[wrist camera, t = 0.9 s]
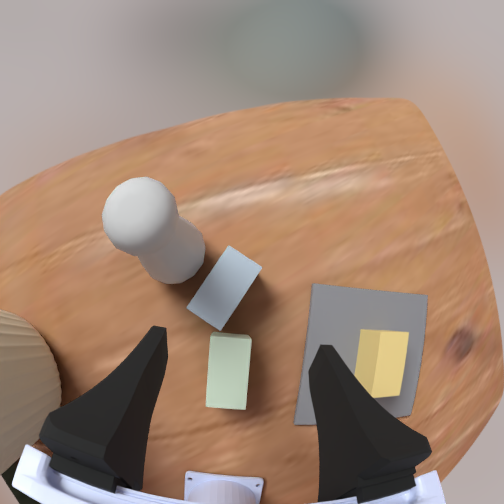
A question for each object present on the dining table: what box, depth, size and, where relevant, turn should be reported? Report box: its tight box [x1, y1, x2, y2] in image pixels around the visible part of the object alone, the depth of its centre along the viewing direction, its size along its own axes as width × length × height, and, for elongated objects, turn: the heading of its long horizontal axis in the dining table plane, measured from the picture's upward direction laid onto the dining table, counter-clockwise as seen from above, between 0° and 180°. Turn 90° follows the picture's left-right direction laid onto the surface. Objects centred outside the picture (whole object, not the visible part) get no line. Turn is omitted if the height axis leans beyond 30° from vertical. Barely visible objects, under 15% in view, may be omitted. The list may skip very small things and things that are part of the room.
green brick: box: [206, 332, 252, 410], centre depth 23 cm, size 6×3×4 cm, turn 175°
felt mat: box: [293, 283, 428, 425], centre depth 25 cm, size 14×14×1 cm
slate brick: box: [187, 246, 262, 331], centre depth 24 cm, size 6×3×4 cm, turn 147°
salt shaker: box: [102, 177, 205, 284], centre depth 20 cm, size 6×6×13 cm
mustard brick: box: [354, 329, 409, 398], centre depth 23 cm, size 6×3×4 cm, turn 173°
